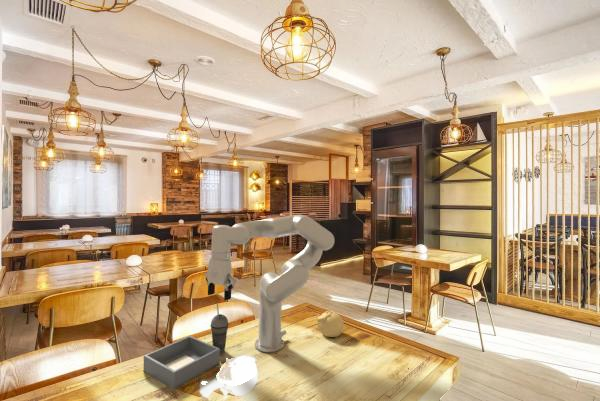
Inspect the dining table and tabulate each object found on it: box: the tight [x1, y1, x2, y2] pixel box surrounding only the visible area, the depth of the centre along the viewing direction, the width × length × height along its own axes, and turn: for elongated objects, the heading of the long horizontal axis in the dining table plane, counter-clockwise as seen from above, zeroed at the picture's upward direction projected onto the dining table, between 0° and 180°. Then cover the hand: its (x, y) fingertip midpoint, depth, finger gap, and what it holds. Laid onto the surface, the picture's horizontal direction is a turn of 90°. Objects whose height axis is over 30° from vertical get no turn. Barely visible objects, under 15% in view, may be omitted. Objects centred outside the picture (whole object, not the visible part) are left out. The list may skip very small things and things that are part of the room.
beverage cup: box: [210, 303, 229, 356], centre depth 131 cm, size 7×7×20 cm
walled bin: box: [143, 335, 221, 391], centre depth 119 cm, size 20×18×6 cm
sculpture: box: [316, 310, 345, 338], centre depth 151 cm, size 11×12×11 cm
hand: (219, 296), depth 131 cm, fingers open, 9 cm apart
